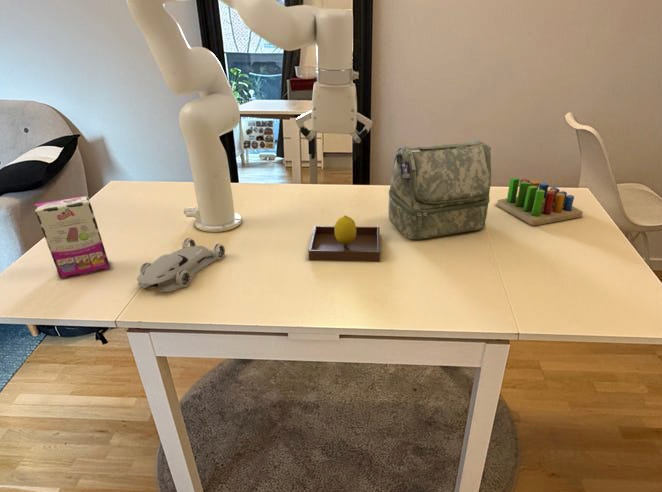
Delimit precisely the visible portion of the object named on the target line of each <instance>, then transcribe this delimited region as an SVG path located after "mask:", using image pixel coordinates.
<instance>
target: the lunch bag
mask: <svg viewBox="0 0 662 492" xmlns="http://www.w3.org/2000/svg"><path fill="white" fill-rule="evenodd" d="M491 149H492V147H490V146H489V145H488V144H487V143H485V142H483V141H481V140H476V141H470V142H463V143H452V144H451V143H449V144H441V145H433V146H415V147H411V146H406V145H402V146H400V147H399V148H398V149H397V150H395V151H394V154H395V156H394V161H393V165H392V173H391V179H390V184H389V190H388V209H387V210H388V214H387V215H388V219H389V221H390V223H391V224H392V225H393V226H394V227H395V228H396V229H397V230H398V231H399V232H400V234H402V235H403V236H404V237H405V238H407V239H409V240H424V239H431V238H437V237H444V236H449V235H455V234H461V233H468V232H473V231H478V230H481V229H483V228H485V226H486V221H487V215H488V210H489V203H490V199H491V197H490V192H491V185H492V155H491V154H492V152H491Z"/></svg>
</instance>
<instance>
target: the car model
mask: <svg viewBox="0 0 662 492" xmlns="http://www.w3.org/2000/svg"><path fill="white" fill-rule="evenodd" d="M181 244H182V245H181V247H182V248H180V249H178V250H176V251H173V252H171V253H167V254H166V253H165V254H162V255H161V256H159V257H157V258H156V259H155V260H154V261H153V262H144V263H142V265H140V270H139V273H140V274H139V275H138V276H137V279H136V280H137V286H138V287H140V288H142V289H145V290H147V289H151V288H156V292H158V293H171V292H174V291H177V290H180V289H183V288H186V287H188V286H189V285H190V283H191V281H192V280H193V278H194V277H195V276H196V275H197V274H199V273H200V271H202V270H203V269H205V268H206V267H207V266H209V265H211V264H212V263H214V262H216V261H219V260H222V259H223V258H224V256H225V254H226V248H225V246H224V244H221V243H215V244H214V245H213V247H212V250H209V249H208V248H207V247H205V246H203V245H196V242H195V239H193V238H192V237H188V238H187V237H186V238H185V239H183V241H182V243H181ZM188 245H189V246H188Z"/></svg>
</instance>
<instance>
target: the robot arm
mask: <svg viewBox="0 0 662 492" xmlns="http://www.w3.org/2000/svg"><path fill="white" fill-rule="evenodd" d="M187 1H189V0H125V2H126V3H125V4H126V5H127V8H128V10H129V12H130V15H131V17H132V18H133V20H134V21H135V23H136V25H137V27H138V28H139V30H140V32H141V34H142V36H143V37H144V39H145V42H146V43H147V46H148V47H149V50H150V52H151V54H152V56H153V58H154V62H155V63H156V65H157V67H158V69H159V71H160V73H161V75H162V78H163V79H164V82H165V84H166V86H167V87H168V89H169V91H171V92H172V93H173V94H174V95H176V96H181V97H183V96H190V95H193V94H196V93H198V95H199V97H198V98H195V99H193V100H190V101H188V102H186V104H184V106H183V107H181V109H180V111H179V114H178V124H179V129H180V131H181V134H182V137H183V139H184V143H185V146H186V149H187V150H186V151H187V154H188V158H189V165H190V169H191V176H192V180H193V187H194V194H195V198H196V204H197V206H195V207H184V208H183V214H184V215H185V217H186V218H195V219H194V226H195V228H197V229H198V230H200V231H202V232H203V231H204V232H209V233H219V232H220V233H221V232H226V231H230V230H233V229H235V228H237V227H238V226H240V225H241V224H242V217H241V215H240V214H238V213H236V212H235V205H234V198H233V190H232V184H231V183H232V181H231V175H230V167H229V160H228V155H227V151H226V149H225V147H224V146H223V143H222V141H221V139H220V137H221V136H222V135H225V134H227V133H230V132H232V131H233V130H234V129H236V127H237V126H238V125H239V122H240V119H241V113H240V112H241V111H240V108H239V104H238V101H237V98H236V97H235V95H234V92H233V90H232V86H231V85H230V83H229V80H228V78H227V75H226V73H225V71H224V69H223V66H222V64H221V62H220V61H219V59H218V58H217V57H216V55H215V54H214V53H213V52H212V51H211V50H209V49H208V48H206V47H203V46H192V47H191V46H190V45H189V44H188V42H187V40H186V38H185V35H184V33H183V31H182V30H183V29H182V28H181V26H180V24H179V23H178V21H177V20H176V19H175V18H174V16H173V15H172V14H171V13H170V12H169V11H168V10H167V8H166V7H165V4H170V3H181V2H187ZM219 1H220V2H222V3H223V4H224V5H226V6H228V7H229V8H231V9H233V10H234V11H235V12H236V14H237V16H238V17H239V18H240V20H241V21H242V22H243V24H244V25H245V26H246V27H247V29H249V30H250V31H251V32H253V33H254V34H255V35H257V36H258V37H260V38H261V39H263V40H264V41H266V42H267V43H269V44H271V45H272V46H274V47H276V48H278V49H280V50H282V51H283V50H284V51H288V52H289V51H290V52H292V51H296V50H299V49H303V48H304V49H305V48H308V47H312V46H316V81H314V82H313V89H312V95H311V109H310V111H308V112H305V113H303V114H301V115H300V116H298V117H297V118H296V119H295V123H296V126H297V128H298V129H299V132H300V133H301V134H302V135H303V136H304V138H305V139H306V140H307V141H308V143H307V145H308V155H310V156H311V157H310V158H311V159H310V160H315V158H316V154H317V151H316V149H317V148H316V146H317V145H316V138H315V137H316V136H317V134H334V135H350V136H351V138H352V139H353V141H352V161H353V162H355V161H357V157H359V156H360V143H361V141H362V140H363V139H365V138H366V136H367V135H368V134H369V132H370V130H371V128H372V126H373V121H372V120H371V119H370V118H368V117H366V116H365V115H363V114H361V113H360V112H358V96H357V87H356V83H354V82H353V81H354V80H359V75H360V73H359V71H355V70H354V69H353V43H354V40H353V39H354V16H353V13H352V12H351V11H350V10H349V9H345V8H333V7H328V8H324V7H323V8H322V7H319V6H315V5H310V4H300V5H292V6H286V5H284V4H282V3H280V2H278V1H277V0H219ZM309 120H310V123H311V130H309V129H308V128H307V127H306V125H305V123H304V122H307V121H309ZM358 122H359V123H361V124H362V125H364V127H363V129H362V130H360V131H358V130H357V124H358Z"/></svg>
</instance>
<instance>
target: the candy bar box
mask: <svg viewBox="0 0 662 492" xmlns="http://www.w3.org/2000/svg"><path fill="white" fill-rule="evenodd" d="M34 206H35V207H34V210H35V214H36V217H37V221H38V223H39V225H40V229H41V230H42V233H43V236H44V239H45V241H46V244H47V246H48V250H49V252H50V254H51V258H52V260H53V263H54V265H55V268H56V271H57V274H58V277H59V279H60V280H61V279H62V280H63V279H69V278H72V277H79V276H83V275H88V274H92V273H97V272H102V271H106V270H107V271H108V270H111V265H110V262H109V259H108V256H107V251H106V248H105V245H104V241H103V239H102V236H101V232H100V229H99V226H98V223H97V220H96V217H95V213H94V210H93V207H92V204H91V200H90V199H89V196H88V195H82V196H77V197H71V198H64V199H59V200H53V201H47V202H41V203H35V204H34Z"/></svg>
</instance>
